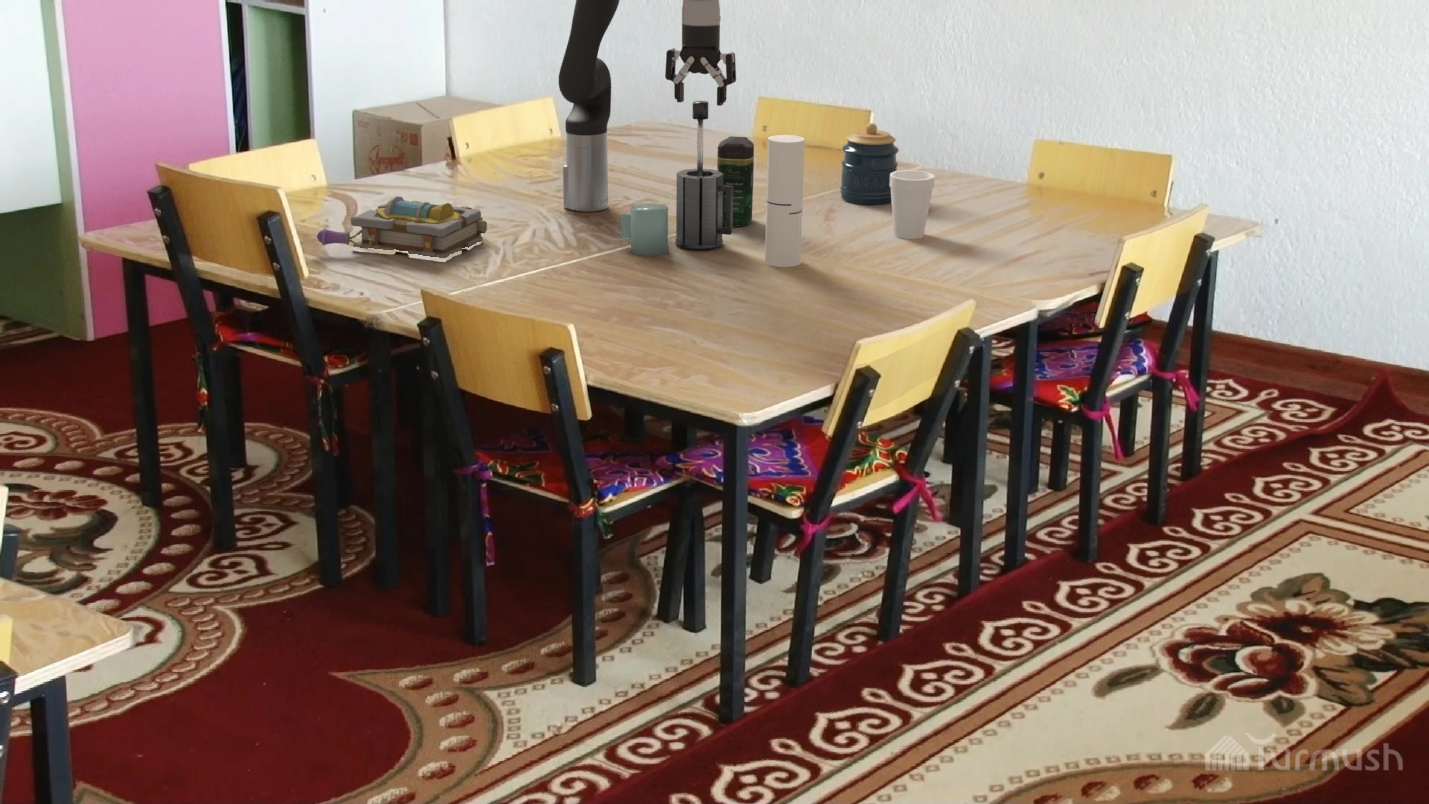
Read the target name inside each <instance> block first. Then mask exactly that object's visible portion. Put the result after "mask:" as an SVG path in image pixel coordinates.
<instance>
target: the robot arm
mask: <svg viewBox="0 0 1429 804" xmlns="http://www.w3.org/2000/svg"><path fill="white" fill-rule="evenodd" d="M620 1H621V0H575V4H574V9H573V15H572V20H571V27H570V33H569V37H568V42H567V44H566V48H565V52H564V55H563V58H562V62H561V65H560V68H559V73H558V88H559V91H560V93H561V95H562V97H563V98H564V99H565V100H566V101H567V102H569V103H571V104H573V105H572V108H571V110H570V112H569V115H568V116H567V117H566V119H565V125H564V126H565V128H564V129H565V160H566V161H565V162H566V164H565V165H562V183H563V185H562V186H563V187H562V188H563V189H562V192H563V194H562V195H563V208H564V207H565V208H564V209H569V210H571V211H575V210H576V211H575V212H598V211H603V210H606V209H608V208H609V177H608V173H609V171H608V169H609V168H608V166H609V165H608V161H609V160H608V123H609V120H610V117H611V111H612V110H611V108H612V102H611V101H612V77H611V72H610V70H609V68H608V66H607V64H606V62H605V61H604V60H602V59H600V58H599V57H598V56H599V51H600V46H601V44H602V40H603V38H604V36H605V34H606V33H607V30H608V28H609V26H610V24H611V23H612V21H613V18H614V16H615V14H616V12H617V10H618V7H619V4H620ZM720 6H721V5H720V0H682V7H681V50H678V49H676V48H671V49H668V50H667V51H666V56H665V57H666V58H665V75H664V76H665V79H666V80H667V81H671V82H673V86H674V87H673V89H674V92H673V93H674V96H673V97H674V99H675V100H676V102H677V103H683V102H684V101H685V83H684V80H685V79H686V77H687V76H688V75H689V74H690V73H691V74H701V75H707V74H709V75H710V78H711V77H712V79H714V82H716V84H717V85H718V86H717V87H716V105H717V107H719V106H720V107H721V106H723V105H724V103H726V102H727V92H728V91H727V87H728V85H729V86H730V85H732V84H734V83H736V81H737V71H736V70H737V68H736V53H734V52H733V51H732V52H729V53H722V52H721V49H720V43H721V42H720V39H721V37H720V36H721V32H720V31H721V20H722V19H721V8H720ZM679 58H680V60H682V62H683V65H682V67H681V68H680V70H678V73H677V74H676V62H677V61H679ZM721 60H722V63H723V64H724V65H725V74H726V75H724V73H723V70H722V69H721V68H720V66H719V65H718V64H719V63H720V61H721ZM725 76H726V77H725Z"/></svg>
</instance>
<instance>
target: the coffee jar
mask: <svg viewBox="0 0 1429 804" xmlns="http://www.w3.org/2000/svg"><path fill="white" fill-rule="evenodd" d="M754 145H755V144H754V142H753V141H752V140H750V139H748V137H746V136H732V135H731V136H728V137H727V138H725V139H722V140H721V141H720V142H719V143H718V145H717V147H716V149H717V155H716V156H717V157H716V158H717V159H716V160H717V161H716V165H717V166H716V170H717V171H719V172H721V173H723V185H733V228H737V227H740V226H744V227H746V226H748V225H750V223H751V221H752V219H753V199H754V198H753V196H754V194H753V193H754V177H755V176H754V173H755V172H754V171H755V170H754V167H755V165H754V163H755V146H754ZM722 226H726V192H725V191H723V217H722Z"/></svg>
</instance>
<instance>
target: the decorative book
mask: <svg viewBox="0 0 1429 804" xmlns="http://www.w3.org/2000/svg"><path fill="white" fill-rule="evenodd" d="M350 225H351V226H352V227H360V229H361V230H359V231H358V232H357V233H356V234H355V235H352V236H351V235H350V231H345V232H344V231H335V230H330V229H327V228H322V230H320V231H318V233H317V235H316V238H317V241H318V242H320V243H321V244H322V246H326V245H331V244H344V245H347V246H348V245H350V243H351V244H352V247H353V246H354V247H356V246H357V247H360V248H365V249H366V248H367V249H368V248H374V249H383V250H394V249H396V250H399V251H408V253H409V254H418V255H423V256H430V257H439V258H446V257H448V256H449V255H450V254H453V253H455V252H458V251H464V249H463V250H462V248H465V247H468V248H469V247H470V246H472V245H474V244H476V243H477V242H481V241H483V242H484V239H483V238H484V237H482V234H486V233H487V231H488V223H487V221H486V220H483V217H482V211H481V210H480V209H477V208H472V207H469V206H466V205H465V206H461V207H458V206H453V205H452V204H451V203H450V202H446V203H444V204H431V203H430V202H427V201H423V202H422V201H418V200H413V201H412V200H411V201H410V200H404V197H402V196H394V197H392V198H391V199H389V200H388V202H387V203H385V204H381V205H378V206H377V208H376V209H375V210H373V209H369V210H367V211H365V212H363V213H361V214H358V215H356V216H355V215H354V216H352V217H350ZM360 234H361V240H360V241H357V242H356V241H354V240H353V239H354V238H357V236H360Z"/></svg>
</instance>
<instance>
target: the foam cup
mask: <svg viewBox="0 0 1429 804" xmlns="http://www.w3.org/2000/svg"><path fill="white" fill-rule="evenodd" d="M934 187H935V175H934V173H931V172H928V171H922V170H916V169H915V170H914V169H913V170H911V169H910V170H909V169H908V170H907V169H905V170H897V171H895V172H892V173H890V188H891V201H892V202H891V212H892V224H893V225H892V226H893V227H892V228H893V235H894V236H895V237H896V238H901V239H904V240H905V239H908V240H914V239H915V240H917V239H922V238H923V237H924V234H925V229H926V225H927V219H928V215H929V209H930V205H931V198H932V194H933V189H934Z"/></svg>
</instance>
